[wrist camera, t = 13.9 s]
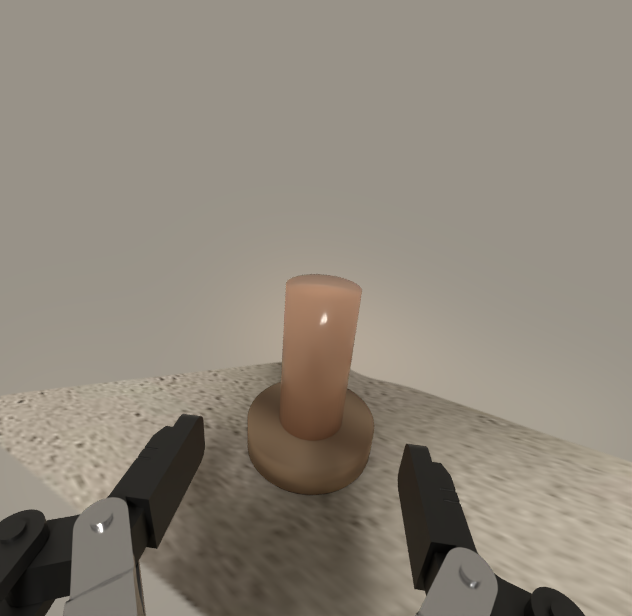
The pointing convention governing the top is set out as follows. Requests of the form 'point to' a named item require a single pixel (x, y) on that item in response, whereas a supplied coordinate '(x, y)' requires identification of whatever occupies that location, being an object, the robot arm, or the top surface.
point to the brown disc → (308, 447)
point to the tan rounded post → (317, 353)
